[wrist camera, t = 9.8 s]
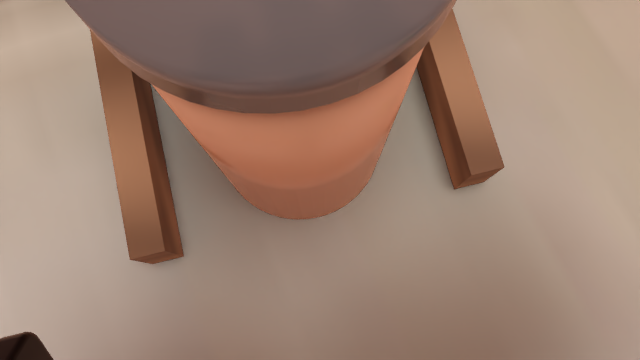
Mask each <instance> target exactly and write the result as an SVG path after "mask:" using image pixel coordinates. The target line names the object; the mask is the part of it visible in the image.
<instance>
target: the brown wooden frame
mask: <svg viewBox="0 0 640 360" xmlns="http://www.w3.org/2000/svg"><path fill="white" fill-rule="evenodd" d="M90 32H91V37H92V43H93V49H94V55H95V61H96V66H97V72H98V78H99V84H100V89H101V95H102V101H103V107H104V113H105V118H106V124H107V130H108V136H109V141H110V147H111V153H112V159H113V165H114V170H115V176H116V182H117V188H118V193H119V199H120V205H121V211H122V217H123V222H124V228H125V234H126V240H127V245H128V251H129V257H130V260H135V261H140V262H145V263H150V264H154V263H158V262H163V261H167V260H171V259H175V258H179V257H183V251H182V245H181V240H180V235H179V230H178V225H177V220H176V215H175V209H174V204H173V199H172V194H171V189H170V184H169V178H168V173H167V168H166V163H165V158H164V153H163V148H162V142H161V137H160V132H159V127H158V122H157V117H156V111H155V106H154V101H153V96H152V91H151V86H150V83H149V82H147V81H146V80H144V79H142V78H141V77H139V76H138V75H136V74H135V73H134V72H133V71H131V70H130V69H129V68H128V67H126V66H125V65H124V64H123V63H121V62H120V61H119V60H118V59H117V58H116V57H115V56H114V55H113V54H112V53H111V52H110V51H109V50H108V49H107V48H106V47H105V45H104V44H103V43H102V42H101V41H100V40H99V39H98V38H97V37H96V36H95V34H94V33H93V32H92V31H91V30H90ZM417 69H418V72H419V75H420V79H421V82H422V85H423V89H424V92H425V95H426V98H427V102H428V105H429V108H430V111H431V115H432V118H433V121H434V124H435V128H436V131H437V134H438V137H439V141H440V144H441V147H442V150H443V154H444V157H445V160H446V164H447V167H448V170H449V173H450V177H451V180H452V183H453V186H454V189H457V188H461V187H465V186H469V185H473V184H477V183H481V182H484V181H486V180H487V179H488V178H490V177H491V176H493V175H494V174H495V173H497V172H498V171H500V170H501V169H502V168H504V164H503V161H502V158H501V155H500V152H499V149H498V146H497V143H496V140H495V137H494V134H493V131H492V128H491V125H490V121H489V118H488V115H487V112H486V109H485V106H484V103H483V100H482V97H481V94H480V91H479V88H478V85H477V82H476V79H475V76H474V73H473V70H472V67H471V64H470V61H469V58H468V55H467V52H466V49H465V46H464V43H463V40H462V37H461V33H460V30H459V27H458V24H457V21H456V18H455V15H454V12H453V9H452V10H451V11H450V13H449V14H448V16H447V18H446V19H445V21H444V23H443V24H442V26H441V27H440V29H439V30H438V31H437V32H436V33H435V35H434V36H433V37H432V38H431V39H430V41H429V42H428V43H427V44H426V46H425V47H424V49H423V51H422V54H421V56H420V59H419V61H418V64H417Z"/></svg>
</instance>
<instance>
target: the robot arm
mask: <svg viewBox="0 0 640 360" xmlns="http://www.w3.org/2000/svg"><path fill="white" fill-rule="evenodd" d="M0 360H53V358H52V357H51V355H50V354H49V352H48V351H47V349H46V348H45V346H44V345H43V343H42V342H41V341H40V339H39V338H38V337H37V335H35V334H34V333H31V332H23V333H19V334H15V335H11V336H7V337H4V338H1V339H0Z"/></svg>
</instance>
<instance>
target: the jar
mask: <svg viewBox="0 0 640 360" xmlns="http://www.w3.org/2000/svg"><path fill="white" fill-rule="evenodd" d="M65 1H66V2H67V3H68V4H69V6H70V7H71V8H72V9H73V10H74V11H75V13H76V14H77V15H78V16H79V17H80V18H81V19H82V21H83V22H84V23H85V24H86V25H87V26H88V27H89V29H90V30H91V31H92V32H93V33H94V34H95V36H96V37H97V38H98V39H99V40H100V41H101V42H102V43H103V44H104V45H105V47H106V48H107V49H108V50H109V51H110V52H111V53H112V54H113V55H114V56H115V57H116V58H117V59H118V60H119V61H120V62H121V63H123V64H124V65H125V66H126V67H128V68H129V69H130V70H131V71H133V72H134V73H135V74H136V75H138V76H139V77H141V78H142V79H144V80H146V81H147V82H149V83H151V84H152V86H153V87H154V88H155V89H156V90H157V92H158V93H159V94H160V95H161V97H162V98H163V99H164V100H165V102H166V103H167V104H168V105H169V107H170V108H171V109H172V110H173V112H174V113H175V114H176V115H177V117H178V118H179V119H180V120H181V122H182V123H183V124H184V125H185V126H186V128H187V129H188V130H189V131H190V133H191V134H192V135H193V136H194V138H195V139H196V140H197V141H198V143H199V144H200V145H201V146H202V148H203V149H204V150H205V151H206V153H207V154H208V155H209V156H210V158H211V159H212V160H213V161H214V163H215V164H216V165H217V166H218V167H219V169H220V170H221V171H222V172H223V174H224V175H225V176H226V177H227V179H228V180H229V181H230V182H231V184H232V185H233V186H234V187H235V189H236V190H237V191H238V192H239V193H240V194H241V195H242V196H243V197H244V198H245V199H246V200H247V201H248V202H250V203H251V204H252V205H254V206H255V207H257V208H259V209H260V210H262V211H264V212H267V213H269V214H271V215H275V216H278V217H281V218H288V219H311V218H316V217H320V216H324V215H327V214H330V213H332V212H335V211H336V210H338V209H340V208H342V207H344V206H345V205H346V204H348V203H349V202H350V201H352V200H353V199H354V198H355V197H356V196H357V195H358V194H359V193H360V192H361V191H362V190H363V188H364V187H365V186H366V184H367V183H368V181H369V179H370V178H371V176H372V174H373V172H374V169H375V167H376V164H377V162H378V159H379V157H380V155H381V152H382V150H383V147H384V145H385V142H386V140H387V137H388V135H389V132H390V130H391V128H392V125H393V123H394V120H395V118H396V115H397V113H398V110H399V108H400V105H401V103H402V101H403V98H404V96H405V93H406V91H407V88H408V86H409V83H410V81H411V78H412V76H413V73H414V71H415V69H416V66H417V64H418V61H419V59H420V56H421V54H422V51H423V49H424V47H425V46H426V44H427V43H428V42H429V41H430V39H431V38H432V37H433V36H434V35H435V33H436V32H437V31H438V30H439V29H440V27H441V26H442V24H443V23H444V21H445V19H446V18H447V16H448V14H449V13H450V11H451V10H452V8H453V6H454V5H455V2H456V0H65Z"/></svg>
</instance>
